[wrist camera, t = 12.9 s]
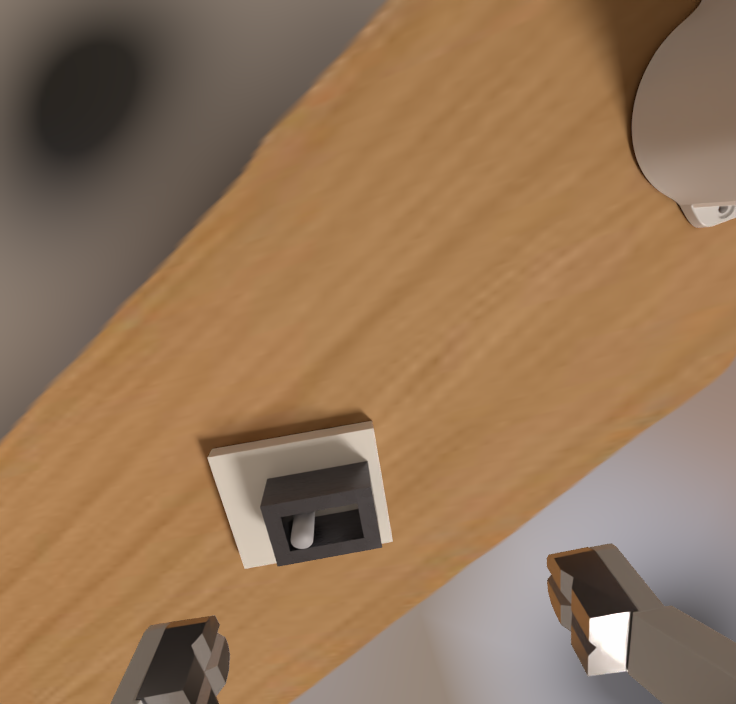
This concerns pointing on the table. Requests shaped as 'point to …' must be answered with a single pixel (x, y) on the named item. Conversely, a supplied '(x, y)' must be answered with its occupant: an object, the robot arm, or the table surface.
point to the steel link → (329, 530)
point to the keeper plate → (285, 457)
